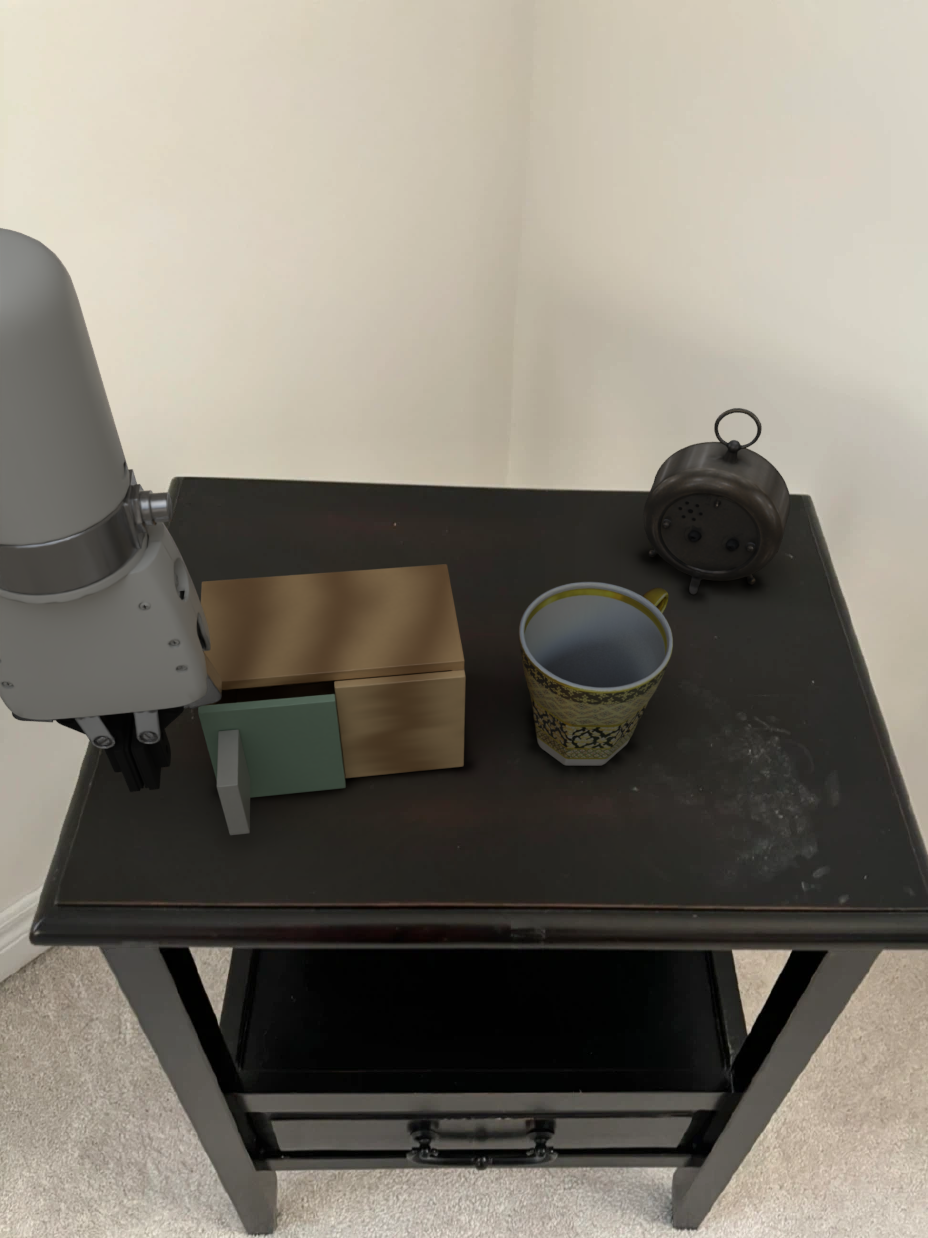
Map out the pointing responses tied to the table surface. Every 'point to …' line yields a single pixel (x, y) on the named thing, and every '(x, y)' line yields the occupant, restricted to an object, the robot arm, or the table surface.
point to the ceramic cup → (592, 666)
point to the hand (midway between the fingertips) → (147, 770)
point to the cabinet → (350, 658)
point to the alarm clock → (717, 509)
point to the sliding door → (271, 750)
